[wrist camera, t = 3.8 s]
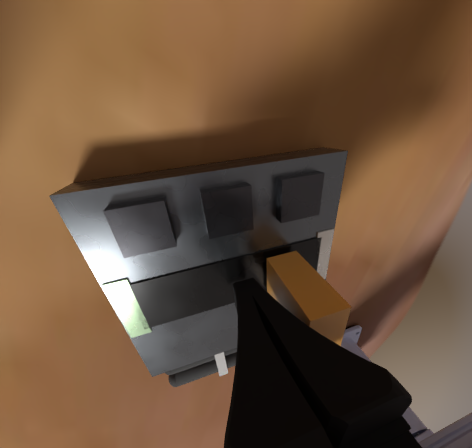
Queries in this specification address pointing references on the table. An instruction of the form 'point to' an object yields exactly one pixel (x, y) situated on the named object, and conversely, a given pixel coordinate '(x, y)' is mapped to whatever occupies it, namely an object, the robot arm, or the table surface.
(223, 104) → the table surface
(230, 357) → the twin grey rollers
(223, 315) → the panel
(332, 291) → the breaker lever
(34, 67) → the table surface
